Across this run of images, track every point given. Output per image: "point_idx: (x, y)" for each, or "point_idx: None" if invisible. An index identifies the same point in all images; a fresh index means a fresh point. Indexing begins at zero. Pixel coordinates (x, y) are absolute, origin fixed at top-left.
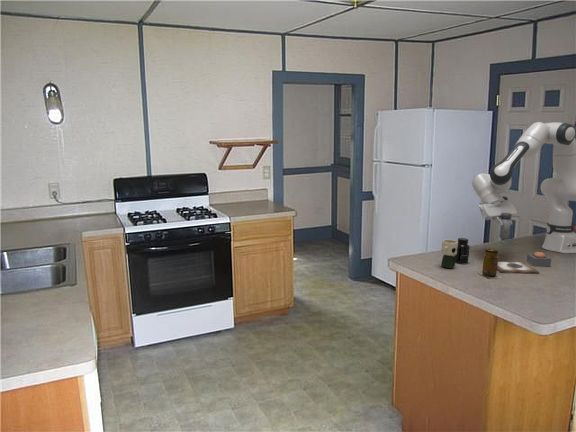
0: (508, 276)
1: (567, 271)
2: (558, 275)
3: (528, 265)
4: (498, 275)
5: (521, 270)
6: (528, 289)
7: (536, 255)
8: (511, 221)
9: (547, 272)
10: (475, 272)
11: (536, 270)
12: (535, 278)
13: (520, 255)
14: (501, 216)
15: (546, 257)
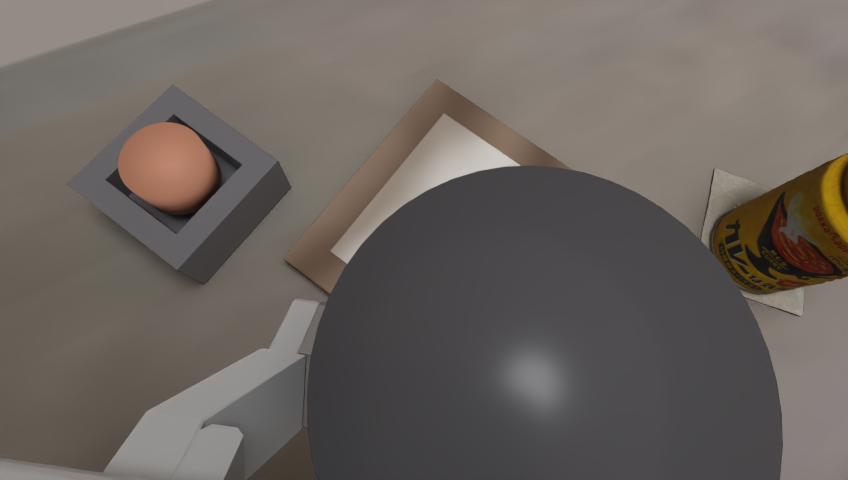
0: (660, 165)
1: (222, 16)
2: (360, 14)
3: (357, 188)
4: (710, 206)
5: (517, 155)
6: (741, 2)
7: (211, 171)
8: (289, 325)
9: (356, 73)
10: (802, 334)
11: (425, 102)
12: (541, 61)
13: (35, 424)
14: None
15: (165, 121)
